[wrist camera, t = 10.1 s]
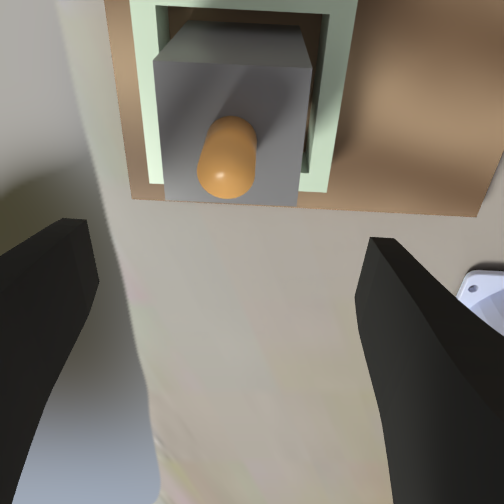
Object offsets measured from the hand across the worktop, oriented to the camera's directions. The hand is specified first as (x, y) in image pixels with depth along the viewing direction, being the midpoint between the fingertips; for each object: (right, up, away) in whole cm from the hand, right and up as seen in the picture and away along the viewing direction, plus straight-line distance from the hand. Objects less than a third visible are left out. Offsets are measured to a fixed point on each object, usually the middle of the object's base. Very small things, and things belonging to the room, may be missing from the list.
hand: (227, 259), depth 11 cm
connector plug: (0, +7, +6) cm, 9 cm away
